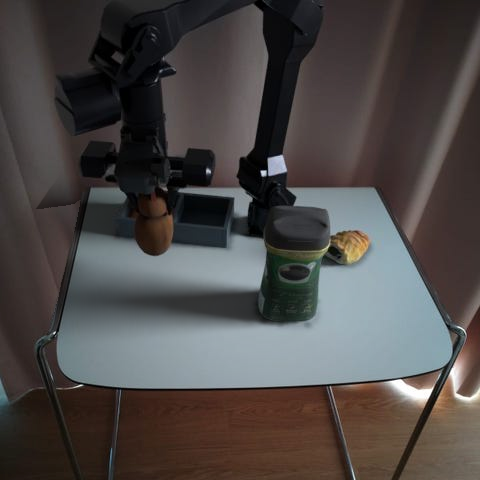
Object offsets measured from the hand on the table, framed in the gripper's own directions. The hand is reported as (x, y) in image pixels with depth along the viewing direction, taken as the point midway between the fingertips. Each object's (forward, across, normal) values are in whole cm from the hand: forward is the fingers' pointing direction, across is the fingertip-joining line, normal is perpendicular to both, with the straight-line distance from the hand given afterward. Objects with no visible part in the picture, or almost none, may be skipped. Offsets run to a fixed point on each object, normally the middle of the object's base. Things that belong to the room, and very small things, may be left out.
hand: (154, 212), depth 77 cm
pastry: (+13, +32, +11) cm, 37 cm away
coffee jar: (+13, +22, -5) cm, 26 cm away
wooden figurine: (+7, 0, 0) cm, 7 cm away
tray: (+13, 0, +14) cm, 19 cm away
